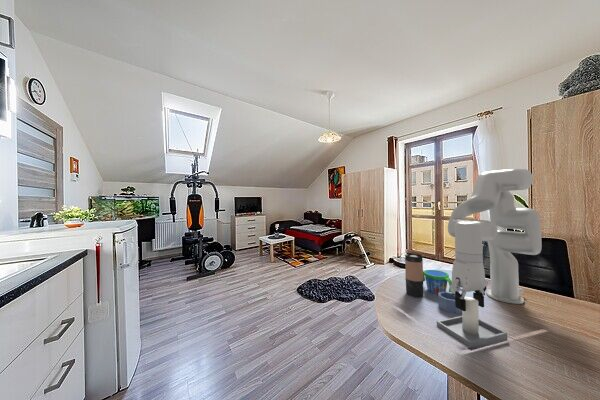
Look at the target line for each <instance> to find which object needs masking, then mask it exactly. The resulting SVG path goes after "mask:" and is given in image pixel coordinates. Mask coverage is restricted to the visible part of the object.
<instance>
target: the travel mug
mask: <svg viewBox="0 0 600 400" xmlns="http://www.w3.org/2000/svg"><path fill="white" fill-rule="evenodd" d="M423 259H424V258H423V255H422V254H418V253H407V254H405V255H404V260H405V263H404V264H405V274H404V275H405V276H404V277H405V292H406V294H407V295H408V296H409V297H413V298H422V297H424V281H423V271H424V261H423Z"/></svg>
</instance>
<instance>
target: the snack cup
mask: <svg viewBox="0 0 600 400" xmlns="http://www.w3.org/2000/svg"><path fill="white" fill-rule="evenodd" d="M423 282H425V283H426V289H427V291H428V292H429V293H431V294H434V295H438V293H439V292H447V289H448V292H449V293H452V291H451V290H450V288H448V286H449V287H450V285H451V284H452V278H450V276H449V274H448V273H447V272H445V271H442V270H437V269H425V270H423Z"/></svg>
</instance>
